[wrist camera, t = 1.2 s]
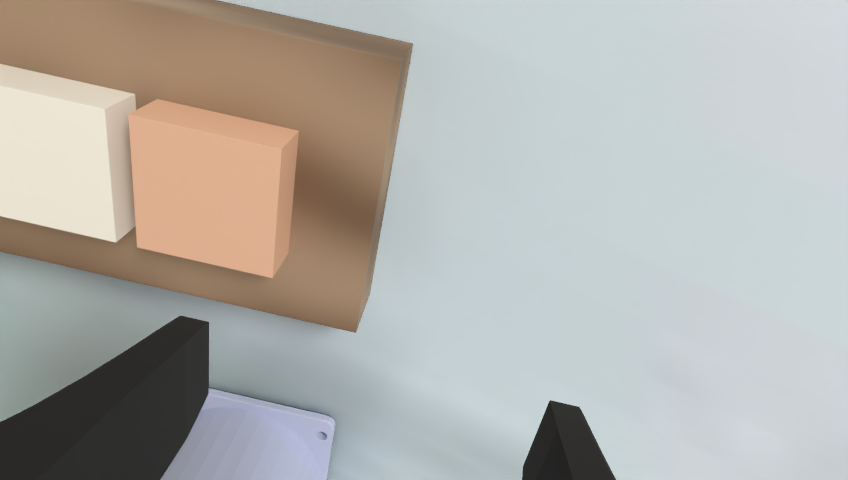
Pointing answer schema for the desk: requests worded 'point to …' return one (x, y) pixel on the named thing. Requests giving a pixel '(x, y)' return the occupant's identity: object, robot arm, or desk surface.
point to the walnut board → (246, 98)
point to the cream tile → (65, 154)
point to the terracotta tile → (212, 186)
